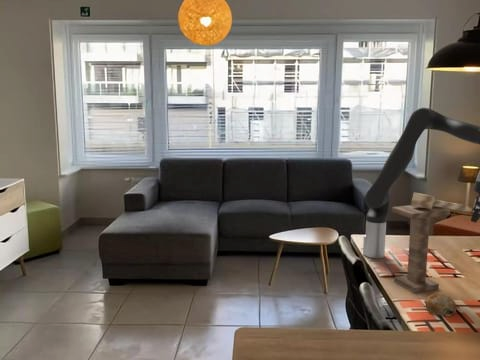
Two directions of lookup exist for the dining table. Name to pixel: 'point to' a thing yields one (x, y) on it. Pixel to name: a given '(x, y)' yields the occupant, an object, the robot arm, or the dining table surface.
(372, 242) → the robot arm
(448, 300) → the bread roll
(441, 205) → the mallet
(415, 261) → the stand
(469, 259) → the dining table surface
